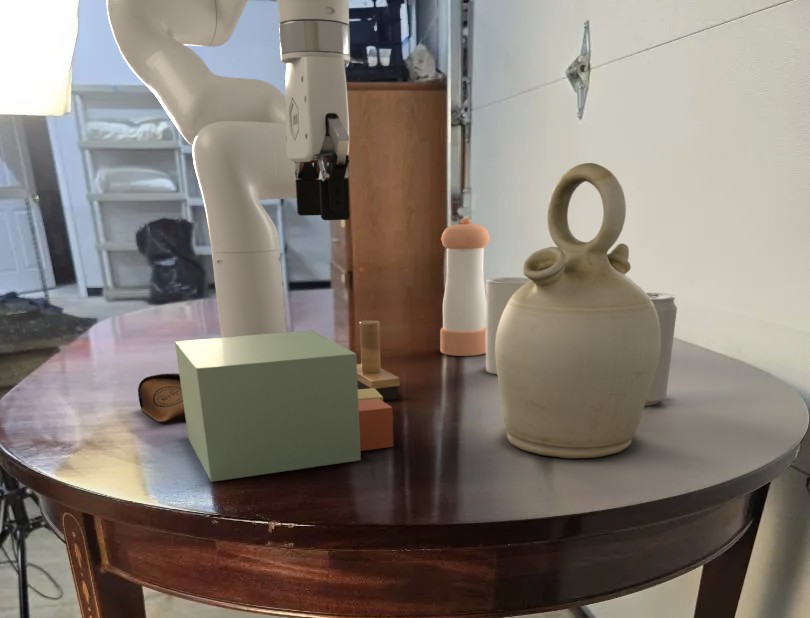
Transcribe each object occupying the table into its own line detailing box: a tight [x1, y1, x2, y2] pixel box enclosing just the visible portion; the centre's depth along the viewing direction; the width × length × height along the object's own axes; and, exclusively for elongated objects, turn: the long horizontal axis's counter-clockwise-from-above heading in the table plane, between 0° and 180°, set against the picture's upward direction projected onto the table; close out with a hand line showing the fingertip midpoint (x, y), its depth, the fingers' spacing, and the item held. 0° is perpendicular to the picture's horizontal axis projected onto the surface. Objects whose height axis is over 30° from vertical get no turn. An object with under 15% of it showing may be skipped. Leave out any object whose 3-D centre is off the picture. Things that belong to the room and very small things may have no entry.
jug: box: [495, 162, 661, 460], centre depth 72 cm, size 15×16×25 cm
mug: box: [485, 276, 531, 375], centre depth 105 cm, size 10×7×12 cm, turn 119°
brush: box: [357, 319, 401, 402], centre depth 95 cm, size 10×4×9 cm, turn 23°
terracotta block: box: [358, 398, 394, 452], centre depth 77 cm, size 4×4×4 cm
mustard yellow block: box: [358, 388, 384, 402], centre depth 81 cm, size 4×4×4 cm
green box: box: [174, 329, 362, 483], centre depth 75 cm, size 16×14×10 cm
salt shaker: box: [439, 217, 490, 357], centre depth 116 cm, size 7×7×19 cm
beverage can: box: [644, 292, 678, 407], centre depth 89 cm, size 6×6×12 cm
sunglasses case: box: [137, 372, 186, 423], centre depth 92 cm, size 18×7×7 cm
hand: (322, 217), depth 91 cm, fingers open, 9 cm apart
